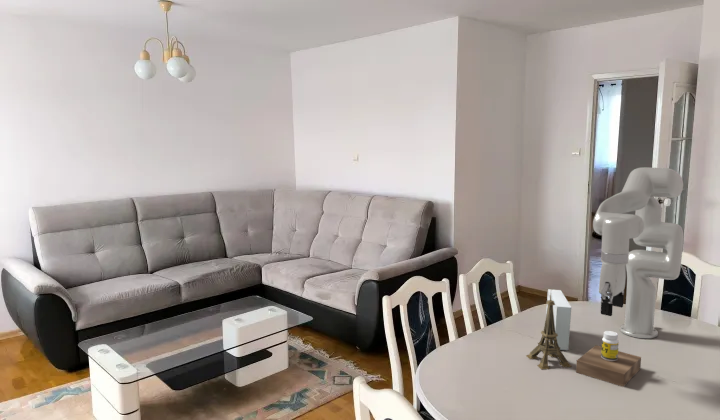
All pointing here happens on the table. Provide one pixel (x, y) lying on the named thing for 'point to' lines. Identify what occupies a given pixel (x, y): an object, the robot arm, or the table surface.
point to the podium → (608, 366)
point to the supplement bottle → (610, 346)
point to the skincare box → (561, 317)
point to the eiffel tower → (548, 342)
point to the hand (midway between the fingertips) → (612, 310)
